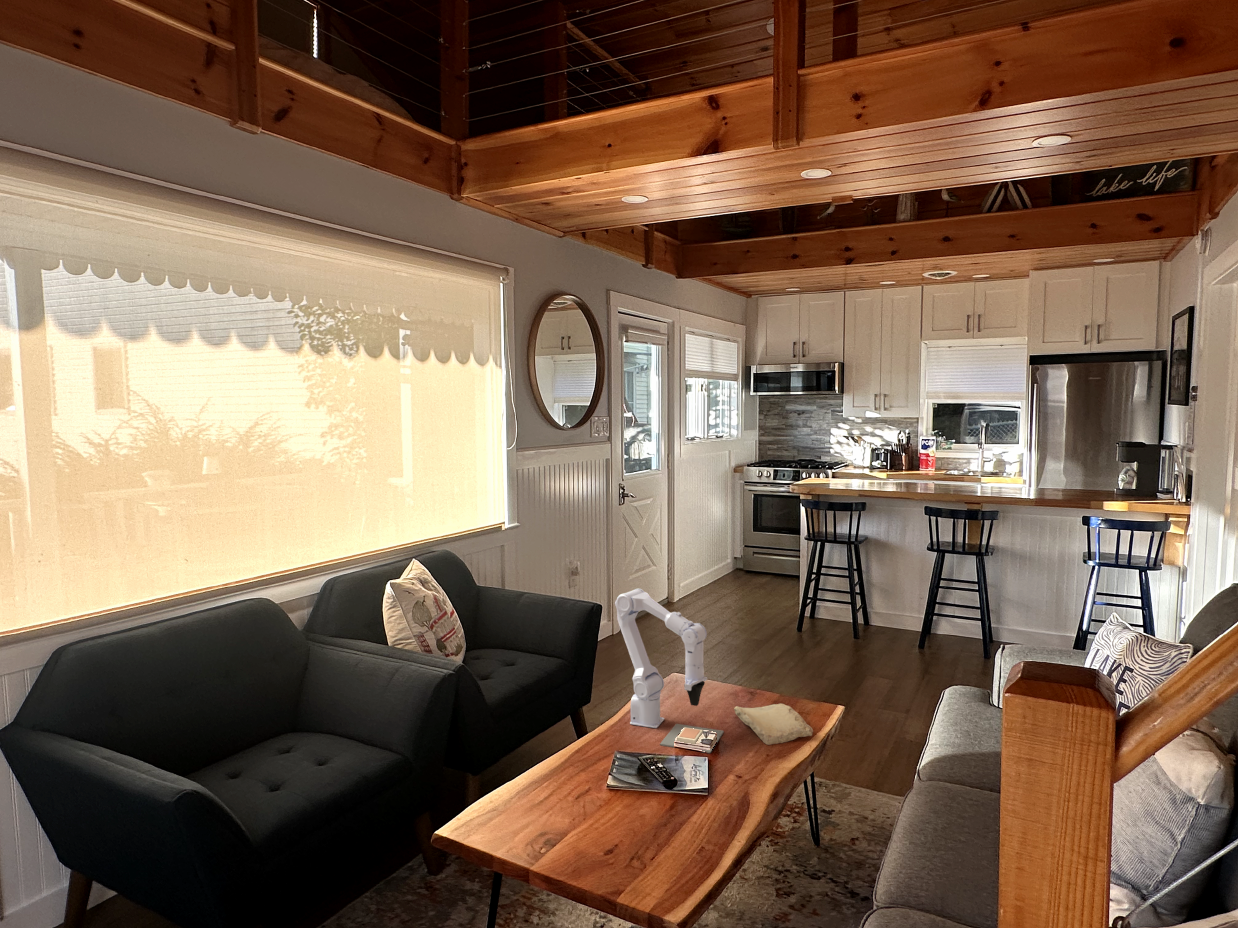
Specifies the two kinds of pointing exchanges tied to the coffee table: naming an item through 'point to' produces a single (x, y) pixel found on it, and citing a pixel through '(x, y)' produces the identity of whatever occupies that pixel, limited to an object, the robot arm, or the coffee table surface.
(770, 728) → the small cream pillow
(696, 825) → the coffee table surface
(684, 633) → the robot arm
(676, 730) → the mat
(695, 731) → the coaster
